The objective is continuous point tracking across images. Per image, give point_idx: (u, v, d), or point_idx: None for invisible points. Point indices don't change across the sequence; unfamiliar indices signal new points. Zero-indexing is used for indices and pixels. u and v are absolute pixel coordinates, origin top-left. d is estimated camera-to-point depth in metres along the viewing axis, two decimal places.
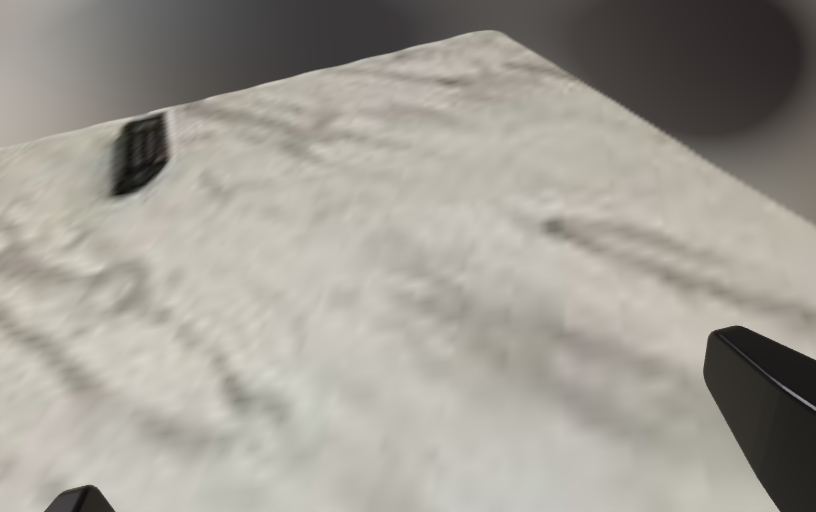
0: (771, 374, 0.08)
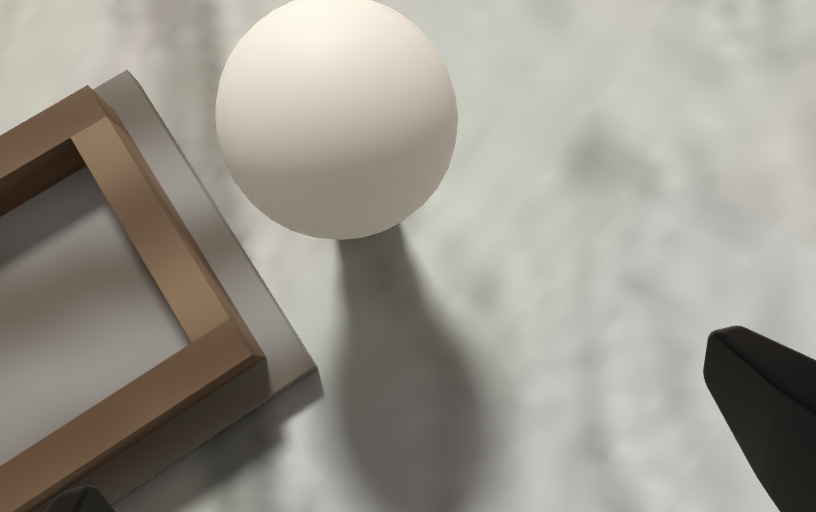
0: (771, 374, 0.08)
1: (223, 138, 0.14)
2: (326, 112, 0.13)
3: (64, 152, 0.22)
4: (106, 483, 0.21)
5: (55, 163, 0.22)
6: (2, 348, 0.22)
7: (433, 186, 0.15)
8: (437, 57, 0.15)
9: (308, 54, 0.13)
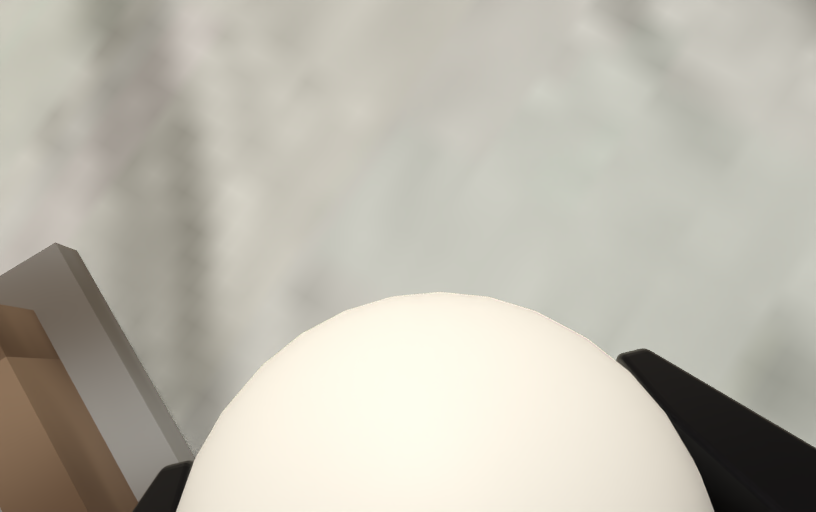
0: (665, 401, 0.08)
1: None
2: None
3: None
4: None
5: None
6: None
7: None
8: (700, 482, 0.06)
9: None
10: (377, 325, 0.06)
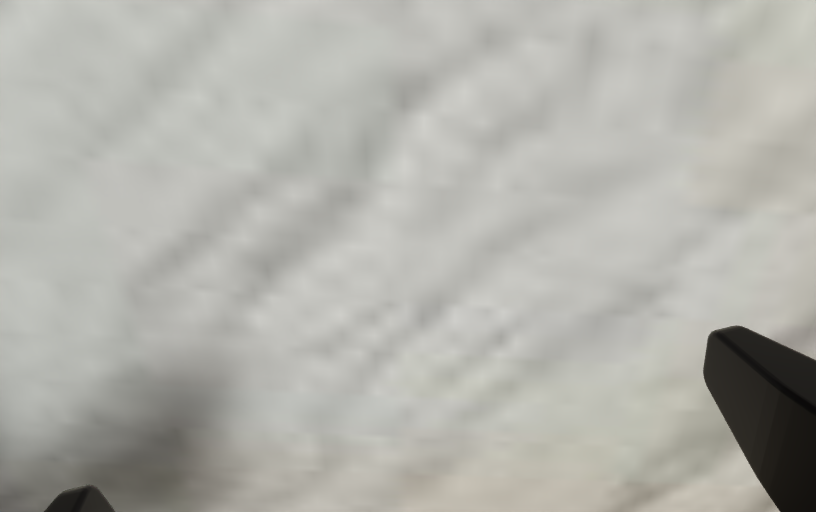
0: (771, 374, 0.08)
1: None
2: None
3: None
4: None
5: None
6: None
7: None
8: None
9: None
10: None
